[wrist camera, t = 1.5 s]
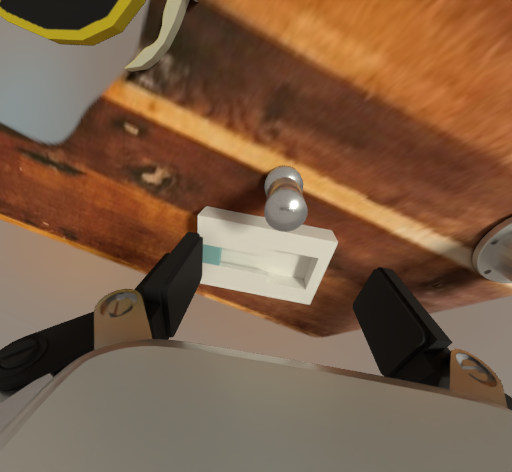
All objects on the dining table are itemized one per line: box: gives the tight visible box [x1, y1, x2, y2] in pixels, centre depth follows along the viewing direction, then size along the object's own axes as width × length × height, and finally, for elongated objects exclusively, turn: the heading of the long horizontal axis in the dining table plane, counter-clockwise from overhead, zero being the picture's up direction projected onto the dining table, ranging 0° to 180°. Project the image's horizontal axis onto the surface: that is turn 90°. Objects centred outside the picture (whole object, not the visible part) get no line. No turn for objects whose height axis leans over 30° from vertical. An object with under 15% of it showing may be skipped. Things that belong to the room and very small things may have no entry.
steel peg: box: [264, 165, 307, 232], centre depth 22 cm, size 5×5×10 cm
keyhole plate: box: [197, 206, 338, 305], centre depth 31 cm, size 20×13×4 cm, turn 81°
